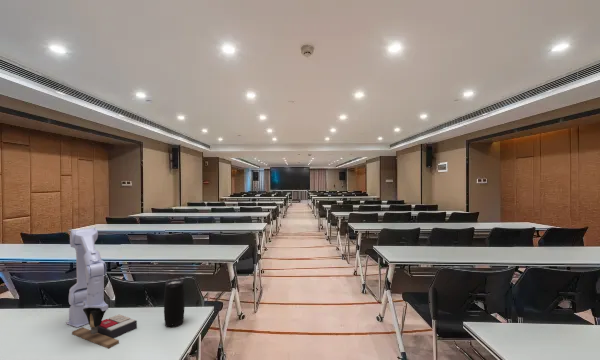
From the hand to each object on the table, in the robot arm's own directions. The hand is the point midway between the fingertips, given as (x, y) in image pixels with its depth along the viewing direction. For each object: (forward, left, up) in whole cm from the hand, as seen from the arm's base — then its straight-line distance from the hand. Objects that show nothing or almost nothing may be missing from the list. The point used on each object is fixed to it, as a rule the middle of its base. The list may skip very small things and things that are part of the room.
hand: (94, 324), depth 116 cm
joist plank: (0, 0, -6) cm, 6 cm away
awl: (0, 0, -3) cm, 3 cm away
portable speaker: (+20, +23, -6) cm, 31 cm away
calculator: (0, +9, -6) cm, 11 cm away
